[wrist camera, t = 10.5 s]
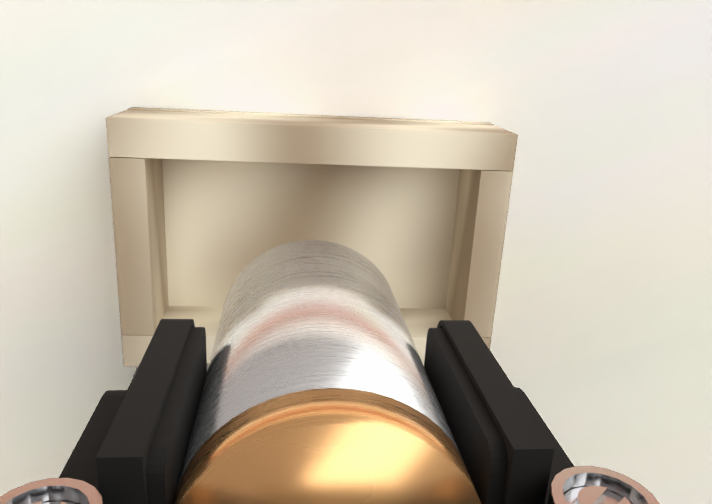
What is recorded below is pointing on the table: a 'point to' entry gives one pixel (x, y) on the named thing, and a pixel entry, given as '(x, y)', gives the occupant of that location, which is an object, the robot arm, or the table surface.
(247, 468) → the cylinder
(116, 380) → the table surface
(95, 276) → the table surface
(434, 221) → the trough
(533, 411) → the robot arm
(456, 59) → the table surface
